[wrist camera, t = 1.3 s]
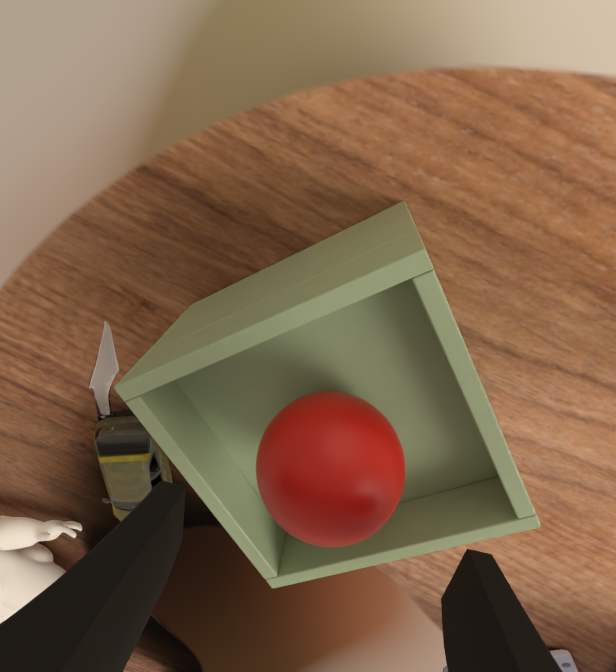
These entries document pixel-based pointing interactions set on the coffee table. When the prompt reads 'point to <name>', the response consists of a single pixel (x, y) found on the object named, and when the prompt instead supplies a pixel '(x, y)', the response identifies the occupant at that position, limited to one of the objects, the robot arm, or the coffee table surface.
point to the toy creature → (27, 559)
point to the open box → (338, 376)
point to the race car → (128, 460)
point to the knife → (104, 371)
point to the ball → (330, 469)
